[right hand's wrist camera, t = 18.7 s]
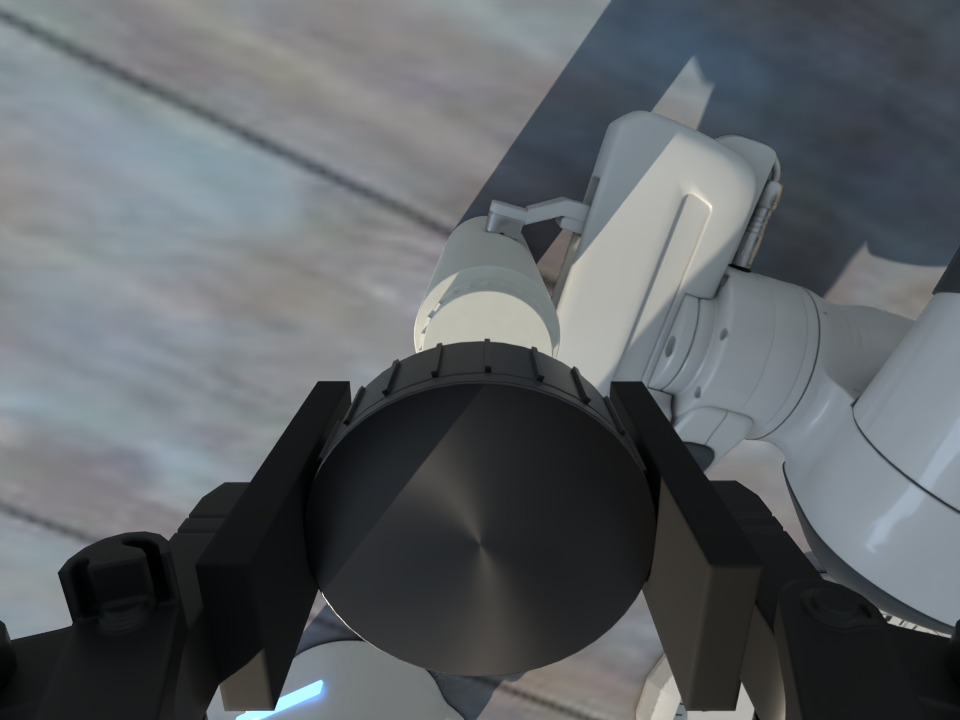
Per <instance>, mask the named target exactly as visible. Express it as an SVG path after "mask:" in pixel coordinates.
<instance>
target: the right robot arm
mask: <svg viewBox="0 0 960 720" xmlns="http://www.w3.org/2000/svg"><path fill="white" fill-rule="evenodd" d="M609 399H610V400H611V402H612V404H613V406H614V408H615V410H616V412H617V414H618V416H619V418H620V420H621V422H622V424H623V426H624V428H625V430H626V431H628V433H629V435H630V437H631V439H632V441H633V443H634V445H635V447H636V448H637V450H638V452H639V454H640V456H641V458H642V460H643V462H644V464H645V466H646V468H647V471H648V474H645V476H646V478H647V481H648V483H649V485H650V488H651V492H652V496H653V499H654V503H655V509H656V518H657V532H656V541H655V549H654V556H653V561H652V565H651V568H650V571H649V573H648V576H647V579H646V581H645V583H644V585H643V587H642V591H643V593H644V596H645V599H646V602H647V604H648V607H649V610H650V613H651V616H652V618H653V621H654V624H655V627H656V629H657V632H658V635H659V638H660V641H661V643H662V646H663V649H664V652H665V654H666V657H667V660H668V663H669V666H670V668H671V671H672V674H673V677H674V679H675V682H676V685H677V688H678V691H679V693H680V696H681V699H682V702H683V704H684V707H685V710H686V711H736V707H737V702H738V697H739V692H740V687H741V682H742V684H743V686H744V688H745V690H746V692H747V694H748V696H749V698H750V701H751V703H752V705H753V707H754V713H753V717H752V720H960V619H959V620H958V621H957V622H956V624H955V627H954V630H953V633H952V636H951V638H948V637H944V636H940V635H935V634H931V633H926V632H922V631H917V630H913V629H909V628H904V627H900V626H897V625H893V624H890V623H888V622H887V621H886V619H885V618H884V616H883V615H882V614H881V612H880V611H879V609H878V608H877V607H876V606H875V605H874V604H872V603H871V602H870V601H869V600H867V599H866V598H865V597H864V596H863V595H861V594H859V593H857V592H855V591H853V590H851V589H849V588H847V587H846V586H844V585H841V584H838V583H834V582H831V581H828V580H825V579H823V578H822V576H821V575H820V574H819V573H818V571H817V570H816V569H815V568H814V566H813V565H812V564H811V562H810V561H809V560H808V559H807V557H806V556H805V555H804V553H803V552H802V551H801V550H800V548H799V547H798V546H797V545H796V543H795V542H794V541H793V539H792V538H791V537H790V536H789V534H788V533H787V532H786V531H783V527H782V525H781V524H780V523H779V522H778V520H777V519H776V518H775V516H772V513H771V511H770V510H769V509H768V507H767V506H766V505H765V504H764V502H763V501H762V500H761V499H760V497H759V496H758V495H757V494H755V493H754V492H752V491H751V490H749V489H748V488H746V487H745V486H743V485H742V484H740V483H739V482H737V481H709V480H708V478H707V477H706V475H705V474H704V472H703V471H702V469H701V468H700V466H699V465H698V463H697V462H696V461H695V459H694V458H693V456H692V455H691V453H690V452H689V450H688V449H687V447H686V446H685V444H684V443H683V441H682V440H681V438H680V437H679V435H678V434H677V432H676V431H675V429H674V428H673V426H672V425H671V423H670V422H669V420H668V419H667V417H666V416H665V414H664V413H663V411H662V410H661V408H660V407H659V405H658V404H657V402H656V401H655V400H654V398H653V397H652V395H651V394H650V392H649V391H648V389H647V388H646V386H645V385H644V383H643V382H642V381H611V384H610V396H609ZM351 404H352V403H351V391H350V381H318V382H317V384H316V385H315V387H314V388H313V390H312V391H311V393H310V394H309V396H308V397H307V399H306V400H305V402H304V403H303V405H302V406H301V408H300V409H299V411H298V412H297V413H296V415H295V416H294V418H293V419H292V421H291V422H290V424H289V425H288V427H287V428H286V430H285V431H284V433H283V434H282V436H281V437H280V439H279V440H278V442H277V443H276V445H275V446H274V448H273V449H272V451H271V452H270V454H269V455H268V457H267V458H266V460H265V461H264V463H263V464H262V466H261V467H260V469H259V470H258V472H257V473H256V474H255V476H254V477H253V479H252V480H251V482H225V483H223V484H222V485H220V486H219V487H217V488H216V489H214V490H213V491H211V492H210V493H208V494H207V495H205V496H204V497H203V498H202V499H201V500H200V501H199V503H198V504H197V505H196V507H195V508H194V509H193V510H192V512H191V513H190V514H189V518H186V519H185V521H184V522H183V523H182V525H181V526H180V527H179V528H178V532H177V533H175V534H174V535H173V536H172V537H171V539H170V540H169V541H168V540H166V539H165V538H164V537H163V536H161V535H160V534H156V533H151V532H146V531H144V532H130V533H123V534H120V535H116V536H112V537H108V538H105V539H103V540H101V541H98V542H96V543H94V544H92V545H90V546H87V547H85V548H84V549H82V550H81V551H80V552H78V553H77V554H75V555H74V556H73V557H71V558H70V559H68V560H67V562H66V563H65V564H64V565H63V567H62V568H61V569H60V570H59V572H58V575H59V579H60V582H61V585H62V588H63V592H64V595H65V598H66V602H67V605H68V608H69V611H70V615H71V618H72V621H73V624H72V626H69V627H66V628H62V629H58V630H54V631H50V632H45V633H41V634H36V635H32V636H27V637H23V638H19V639H14V640H10V637H9V634H8V631H7V628H6V626H5V624H4V623H3V622H2V621H0V720H208V717H207V713H206V711H207V709H208V706H209V704H210V702H211V700H212V698H213V696H214V694H215V692H216V690H217V688H218V686H219V685H220V690H221V695H222V700H223V705H224V710H225V711H275V708H276V705H277V703H278V700H279V697H280V694H281V692H282V689H283V686H284V683H285V680H286V678H287V675H288V672H289V669H290V667H291V664H292V661H293V658H294V655H295V653H296V650H297V647H298V644H299V642H300V639H301V636H302V633H303V630H304V628H305V625H306V622H307V619H308V617H309V614H310V611H311V608H312V605H313V603H314V600H315V597H316V594H317V592H318V589H319V588H318V586H317V584H316V582H315V580H314V578H313V575H312V572H311V569H310V567H309V564H308V560H307V553H306V545H305V537H304V526H303V521H304V513H305V504H306V500H307V497H308V493H309V490H310V486H311V483H312V481H313V479H314V477H315V475H316V473H317V470H318V468H319V466H320V464H321V463H320V462H318V461H317V459H318V457H319V455H320V453H321V451H322V449H323V447H324V445H325V444H326V442H327V440H328V438H329V436H330V434H331V432H332V430H333V428H334V426H335V424H336V422H337V420H339V421H341V422H342V419H343V417H344V415H345V414H346V412H347V411H348V409H349V408H350V406H351Z"/></svg>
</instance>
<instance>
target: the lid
mask: <svg viewBox="0 0 960 720" xmlns="http://www.w3.org/2000/svg"><path fill="white" fill-rule="evenodd" d="M317 461H318V462H320V463H321V464H320V466H319V468H318V470H317V473H316V475H315V477H314V479H313V481H312V483H311V486H310V490H309V493H308V497H307V500H306V504H305V513H304V521H303V526H304V537H305V545H306V553H307V560H308V564H309V567H310V569H311V572H312V575H313V578H314V580H315V582H316V584H317V586H318V588H319V590H320V592H321V594H322V595H323V597H324V599H325V600H326V601H327V603H328V604H329V606H330V607H331V608H332V610H333V611H334V612H335V614H336V615H337V616H338V617H339V618H340V619H341V620H342V621H343V622H344V623H345V624H346V625H347V626H348V627H349V628H350V629H351V630H352V631H354V632H355V633H356V634H357V635H358V636H360V637H361V638H362V639H363V640H365V641H366V642H368V643H369V644H371V645H372V646H374V647H375V648H377V649H379V650H380V651H382V652H384V653H386V654H388V655H390V656H392V657H394V658H396V659H398V660H400V661H403V662H406V663H408V664H411V665H414V666H417V667H420V668H424V669H428V670H431V671H435V672H440V673H446V674H453V675H461V676H500V675H507V674H514V673H521V672H525V671H529V670H533V669H537V668H541V667H544V666H547V665H549V664H552V663H555V662H558V661H560V660H562V659H564V658H566V657H569V656H571V655H573V654H575V653H577V652H579V651H580V650H582V649H583V648H585V647H587V646H588V645H590V644H591V643H593V642H595V641H596V640H597V639H598V638H600V637H601V636H602V635H603V634H605V633H606V632H607V631H608V630H610V629H611V628H612V627H613V626H614V625H615V624H616V623H617V622H618V621H619V619H620V618H621V617H622V616H623V615H624V614H625V613H626V612H627V610H628V609H629V608H630V606H631V605H632V604H633V602H634V601H635V599H636V598H637V596H638V594H639V592H640V591H641V589H642V587H643V585H644V583H645V581H646V579H647V576H648V573H649V571H650V568H651V565H652V561H653V556H654V549H655V541H656V532H657V518H656V509H655V503H654V499H653V496H652V492H651V488H650V485H649V483H648V481H647V478H646V476H645V474H648V471H647V468H646V466H645V464H644V462H643V460H642V458H641V456H640V454H639V452H638V450H637V448H636V447H635V445H634V443H633V441H632V439H631V437H630V435H629V433H628V431H626V430H625V428H624V426H623V424H622V422H621V420H620V418H619V416H618V414H617V412H616V410H615V408H614V406H613V404H612V402H611V400H610V399H609V397H608V396H605V397H603V396H602V395H601V394H600V393H599V391H598V390H597V389H596V388H595V387H594V386H593V385H592V384H591V383H590V382H589V381H587V380H586V379H585V378H584V377H583V376H582V375H581V374H580V372H579V369H578V368H577V367H575V366H574V367H573V368H570V367H569V366H567V365H566V364H564V363H563V362H561V361H559V360H557V359H555V358H553V357H550V356H548V355H546V354H544V353H541V352H538V350H537V348H536V347H533V346H532V347H531V349H529V348H526V347H523V346H518V345H513V344H508V343H503V342H490V339H484V341H473V342H458V343H453V344H447V345H443V344H442V343H438V344H437V345H436V347H434V348H431V349H428V350H425V351H422V352H419V353H416V354H414V355H412V356H410V357H408V358H406V359H404V360H401V361H399V360H398V359H397V360H395V361H393V364H392V366H391V367H390V368H388V369H387V370H385V371H384V372H382V373H381V374H380V375H379V376H378V377H376V378H375V379H374V380H373V381H372V382H371V383H369V384H368V385H367V386H366V387H365V388H364V387H363V386H361V387H360V388H359V390H358V392H357V394H356V396H355V398H354V400H353V402H352V404H351V406H350V408H349V409H348V411H347V412H346V414H345V415H344V417H343V419H342V422H341V421H339V420H337V422H336V424H335V426H334V428H333V430H332V432H331V434H330V436H329V438H328V440H327V442H326V444H325V445H324V447H323V449H322V451H321V453H320V455H319V457H318V459H317Z"/></svg>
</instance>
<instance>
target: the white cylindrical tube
mask: <svg viewBox="0 0 960 720" xmlns="http://www.w3.org/2000/svg"><path fill="white" fill-rule="evenodd" d="M487 217H488V216H479V217H474V218H471V219H469V220H467V221H465V222H463V223H462V224H460V225H459V226H458V227H457V228H456V229H455V230H454V231H453V232H452V233H451V235H450V236H449V238H448V240H447V242H446V244H445V246H444V249H443V251H442V254H441V256H440V259H439V261H438V264H437V266H436V269H435V271H434V274H433V276H432V279H431V281H430V284H429V286H428V289H427V291H426V294H425V296H424V299H423V301H422V304H421V306H420V309H419V311H418V314H417V318H416V322H415V328H414V341H415V348H416V353H419V352H422V351H425V350H428V349H431V348H434V347H436V345H437V344H438V343H442V344H443V345H447V344H453V343H458V342H473V341H484V339H490V342H503V343H508V344H513V345H518V346H523V347H526V348H529V349H531V347H532V346H533V347H536V348H537V350H538V352H541V353H544V354H546V355H548V356H550V357H553V358H555V359H556V357H557V354H558V350H559V346H560V325H559V319H558V316H557V312H556V310H555V307H554V305H553V303H552V301H551V298H550V296H549V294H548V291H547V289H546V287H545V284H544V282H543V280H542V277H541V275H540V273H539V270H538V268H537V266H536V263H535V261H534V259H533V256H532V254H531V252H530V249H529V247H528V245H527V242H526V240H525V238H524V237H523V235H522V234H520V237H519V240H515V239H512V238H509V237H507V236H505V235H504V234H503V233H500V234H496V233H491V232H489V231H486V230H485V225H486V221H487Z"/></svg>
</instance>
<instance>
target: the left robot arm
mask: <svg viewBox="0 0 960 720" xmlns="http://www.w3.org/2000/svg"><path fill="white" fill-rule="evenodd" d="M771 169H772V177H771V180H768V176H769V174H770V172H771ZM780 177H781V164H780V161H779V158H778V156H777V154H776V152H775V151H774V150H773V149H772V148H771V147H770V146H769V145H767V144H765V143H763V142H760V141H757V140H754V139H751V138H748V137H744V136H741V135H737V134H726V135H722V136H719V137H717V138H715V139H713V138H711V137H709V136H707V135H705V134H703V133H701V132H699V131H696V130H694V129H692V128H690V127H688V126H686V125H683V124H681V123H679V122H676V121H674V120H671V119H669V118H666V117H663V116H661V115H658V114H655V113H652V112H648V111H633V112H630V113H628V114H625V115H623V116H621V117H620V118H618V119H616V120H614V121H612V122H611V123H610V125H609V126H608V128H607V131H606V134H605V137H604V140H603V143H602V146H601V149H600V152H599V155H598V158H597V161H596V164H595V167H594V170H593V173H592V176H591V179H590V182H589V185H588V188H587V191H586V194H585V197H584V200H583V202H579V201H576V200H572V199H569V198H565V197H559V198H555V199H551V200H547V201H544V202H540V203H536V204H532V205H528V206H526V208H522V207H519V206H515V205H512V204H508V203H505V202H501V201H497V200H492V203H491V206H490V210H489V214H488V217H487V221H486V225H485V230H486V231H489V232H491V233H496V234H500V233H503V234H504V235H505V236H507V237H509V238H512V239H515V240H519V237H520V234H521V231H522V228H523V225H527V224H531V223H535V222H539V221H543V220H547V219H551V218H556V220H555V221H556V223H557V224H558V225H559V226H560V227H561V228H562V229H565V230H569V231H572V232H573V233H572V236H571V239H570V242H569V245H568V249H567V252H566V255H565V258H564V261H563V264H562V267H561V270H560V273H559V276H558V279H557V282H556V285H555V288H554V291H553V294H552V297H551V301H552V303H553V305H554V307H555V310H556V312H557V316H558V319H559V325H560V346H559V350H558V354H557V357H556V359H557V360H559V361H561V362H563V363H564V364H566V365H567V366H569V367H570V368H573V367H574V366H575V367H577V368H578V369H579V372H580V374H581V375H582V376H583V377H584V378H585V379H586V380H587V381H589V382H590V383H591V384H592V385H593V386H594V387H595V388H596V389H597V390H598V391H599V393H600V394H601V395H602V396H603V397H605V396H608V397H609V396H610V384H611V381H642V382H643V383H644V385H645V386H646V388H647V389H648V391H649V392H650V394H651V395H652V397H653V398H654V400H655V401H656V402H657V404H658V405H659V407H660V408H661V410H662V411H663V413H664V414H665V416H666V417H667V419H668V420H669V422H670V423H671V425H672V426H673V428H674V429H675V431H676V432H677V434H678V435H679V437H680V438H681V440H682V441H683V443H684V444H685V446H686V447H687V449H688V450H689V452H690V453H691V455H692V456H693V458H694V459H695V461H696V462H697V463H698V465H699V466H700V468H701V469H702V471H703V472H704V474H705V475H706V474H707V473H708V472H709V471H710V470H711V469H712V468H713V467H714V466H715V465H716V464H717V463H718V462H719V461H720V460H721V459H722V458H723V457H724V456H725V455H726V454H727V453H728V452H729V451H730V450H731V449H733V448H734V447H735V446H736V445H737V444H738V443H740V442H741V441H742V440H743V439H746V440H759V441H766V442H769V443H772V444H773V445H775V446H776V447H778V448H779V449H780V450H781V451H782V452H783V454H784V456H785V462H784V463H783V473H784V477H785V480H786V484H787V487H788V490H789V493H790V496H791V499H792V502H793V505H794V507H795V510H796V513H797V516H798V518H799V521H800V524H801V526H802V529H803V532H804V535H805V537H806V540H807V542H808V544H809V546H810V548H811V549H812V551H813V553H814V554H815V556H816V558H817V559H818V561H819V562H820V564H821V565H822V566H823V568H824V569H825V570H826V572H827V573H828V574H829V575H830V576H831V577H832V578H833V579H834V580H835V581H836V582H837V583H838V584H841V585H844V586H846V587H847V588H849V589H851V590H853V591H855V592H857V593H859V594H861V595H863V596H864V597H865V598H866V599H867V600H869V601H870V602H871V603H872V604H874V605H875V606H876V607H877V608H878V609H879V610H881V611H884V612H886V613H888V614H890V615H893V616H895V617H897V618H900V619H902V620H905V621H907V622H910V623H913V624H915V625H918V626H921V627H924V628H927V629H930V630H933V631H936V632H940V633H944V634H948V635H952V633H953V630H954V627H955V624H956V622H957V621H958V620H959V619H960V247H959V249H958V250H957V252H956V254H955V255H954V257H953V259H952V260H951V262H950V264H949V265H948V267H947V269H946V270H945V272H944V274H943V275H942V277H941V279H940V280H939V282H938V284H937V285H936V287H935V289H934V290H933V292H932V294H933V295H934V296H933V298H932V299H931V301H930V302H929V303H928V305H927V306H926V307H925V309H924V310H923V311H922V313H921V314H920V316H919V317H918V318H917V320H916V321H914V320H911V319H908V318H906V317H903V316H900V315H897V314H893V313H890V312H887V311H884V310H880V309H877V308H873V307H869V306H863V305H837V304H833V303H830V302H828V301H826V300H824V299H822V298H821V297H820V296H818V295H817V294H815V293H814V292H812V291H810V290H808V289H806V288H804V287H802V286H798V285H794V284H791V283H788V282H784V281H781V280H777V279H774V278H770V277H767V276H764V275H760V274H757V273H754V272H751V271H750V268H751V266H752V264H753V261H754V259H755V257H756V254H757V252H758V250H759V247H760V245H761V243H762V240H763V237H764V236H763V235H764V234H765V230H766V227H767V224H768V222H769V219H770V217H771V215H772V213H773V211H775V210H776V208H777V206H778V204H779V202H780V200H781V197H782V194H783V190H784V184H783V183H780V182H779V181H780ZM728 264H729V265H728ZM236 720H464V718H463V717H462V716H461V715H460V714H459V713H458V712H457V711H456V710H454V709H453V708H452V707H451V706H449V705H448V704H447V703H446V701H445V700H444V698H443V696H442V694H441V692H440V690H439V687H438V685H437V684H436V682H435V680H434V679H433V677H432V676H431V675H430V674H429V672H428V671H427V670H426V669H424V668H420V667H417V666H414V665H411V664H408V663H406V662H403V661H400V660H398V659H396V658H394V657H392V656H390V655H388V654H386V653H384V652H382V651H380V650H379V649H377V648H375V647H374V646H372V645H371V644H369V643H368V642H365V641H337V642H330V643H326V644H322V645H318V646H316V647H313V648H311V649H308V650H306V651H304V652H302V653H301V654H299V655H297V656H296V657H295V658H293V661H292V664H291V667H290V669H289V672H288V675H287V678H286V680H285V683H284V686H283V689H282V692H281V694H280V697H279V700H278V703H277V705H276V708H275V711H246V713H245V714H243V715H240V716H238V717H237V719H236Z"/></svg>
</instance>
